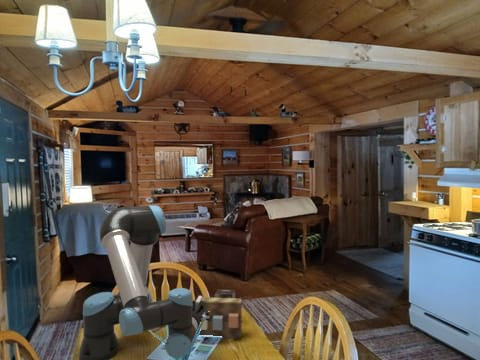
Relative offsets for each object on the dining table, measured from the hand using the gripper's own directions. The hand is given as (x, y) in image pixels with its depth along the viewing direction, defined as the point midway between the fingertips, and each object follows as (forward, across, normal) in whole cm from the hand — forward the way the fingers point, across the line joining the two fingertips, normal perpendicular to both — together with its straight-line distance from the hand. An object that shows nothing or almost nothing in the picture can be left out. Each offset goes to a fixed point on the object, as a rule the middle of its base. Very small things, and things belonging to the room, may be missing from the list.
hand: (200, 299), depth 145 cm
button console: (+14, +6, -22) cm, 27 cm away
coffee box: (+25, +7, -22) cm, 34 cm away
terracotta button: (+12, +13, -15) cm, 23 cm away
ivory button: (+9, 0, -15) cm, 18 cm away
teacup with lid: (+19, -26, -22) cm, 39 cm away
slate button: (+9, +6, -15) cm, 19 cm away
